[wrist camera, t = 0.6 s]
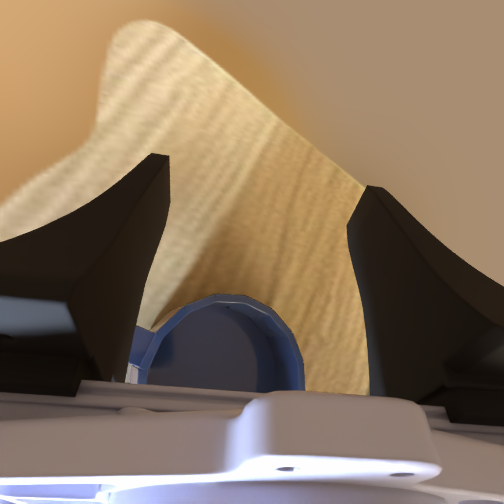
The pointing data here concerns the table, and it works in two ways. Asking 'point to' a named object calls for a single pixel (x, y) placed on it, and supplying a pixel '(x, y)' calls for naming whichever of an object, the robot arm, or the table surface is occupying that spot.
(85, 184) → the table surface
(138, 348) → the blue measuring scoop
